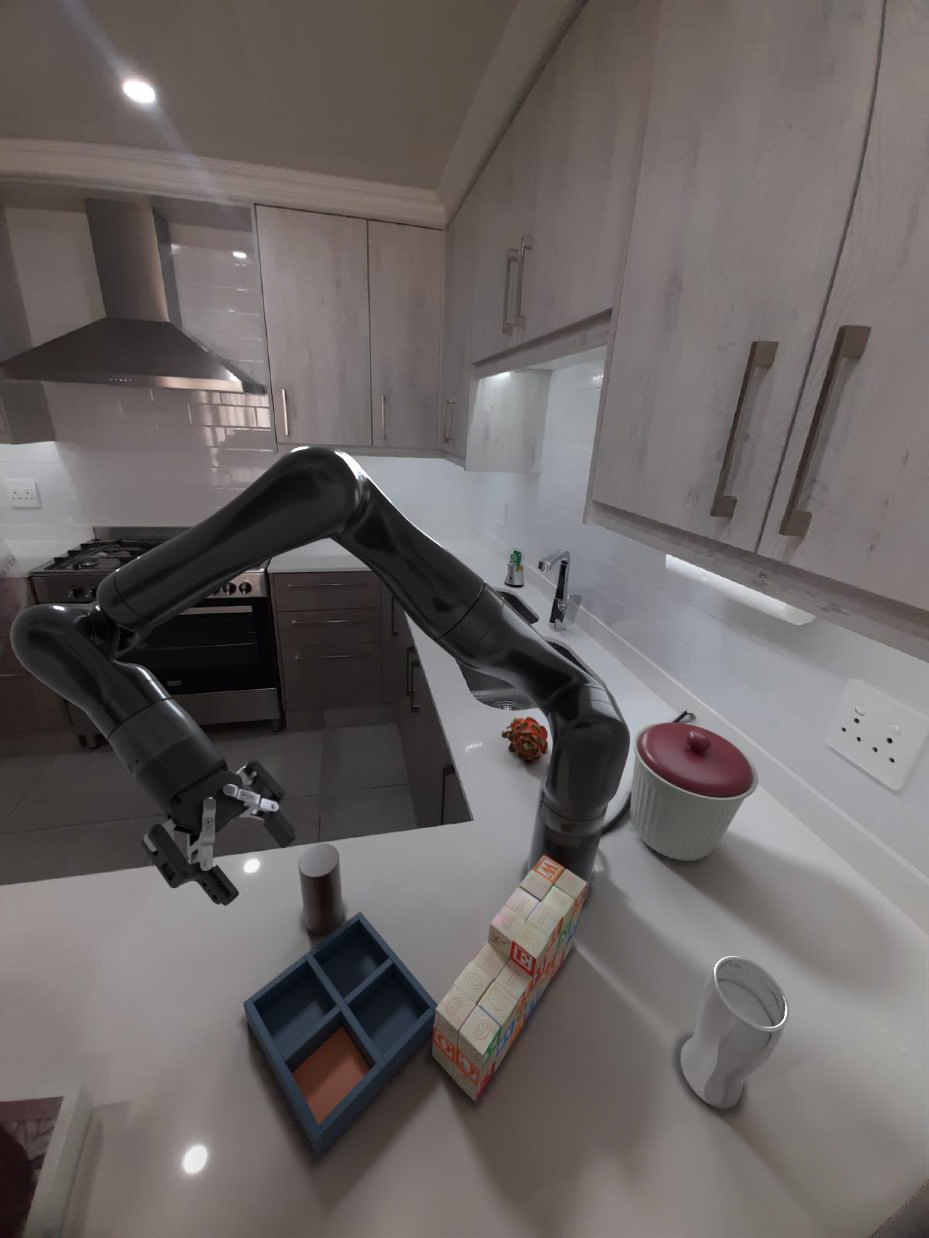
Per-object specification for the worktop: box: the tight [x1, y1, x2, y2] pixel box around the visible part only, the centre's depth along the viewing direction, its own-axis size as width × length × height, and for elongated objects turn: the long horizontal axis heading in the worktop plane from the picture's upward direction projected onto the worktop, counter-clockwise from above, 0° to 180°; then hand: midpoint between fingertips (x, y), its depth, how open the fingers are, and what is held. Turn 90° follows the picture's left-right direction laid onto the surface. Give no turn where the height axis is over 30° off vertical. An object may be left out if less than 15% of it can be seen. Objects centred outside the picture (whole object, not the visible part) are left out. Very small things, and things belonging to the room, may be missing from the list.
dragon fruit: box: [501, 716, 549, 763], centre depth 99 cm, size 8×8×12 cm
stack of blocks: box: [431, 855, 587, 1102], centre depth 56 cm, size 21×6×12 cm, turn 141°
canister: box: [630, 721, 759, 862], centre depth 79 cm, size 18×18×21 cm
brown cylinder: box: [297, 843, 344, 935], centre depth 64 cm, size 5×5×11 cm
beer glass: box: [679, 955, 790, 1110], centre depth 50 cm, size 7×7×15 cm
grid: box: [242, 911, 439, 1159], centre depth 55 cm, size 15×15×4 cm
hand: (263, 869), depth 52 cm, fingers open, 8 cm apart
